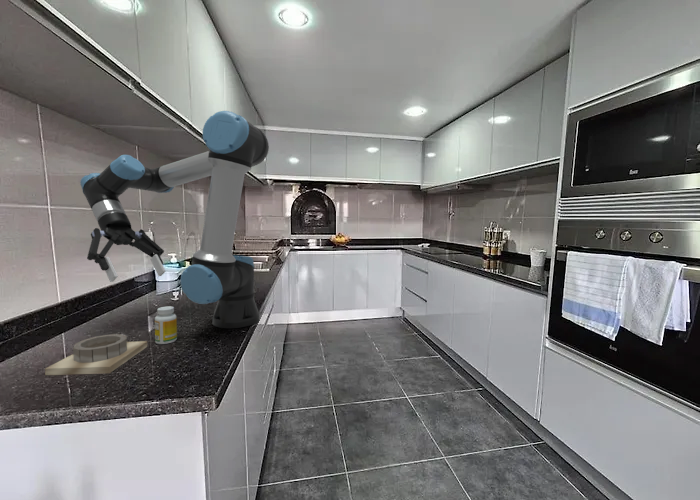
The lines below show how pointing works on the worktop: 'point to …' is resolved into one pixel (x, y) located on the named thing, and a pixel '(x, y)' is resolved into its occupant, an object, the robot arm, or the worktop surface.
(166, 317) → the supplement bottle
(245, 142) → the robot arm
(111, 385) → the worktop surface
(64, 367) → the jig plate
